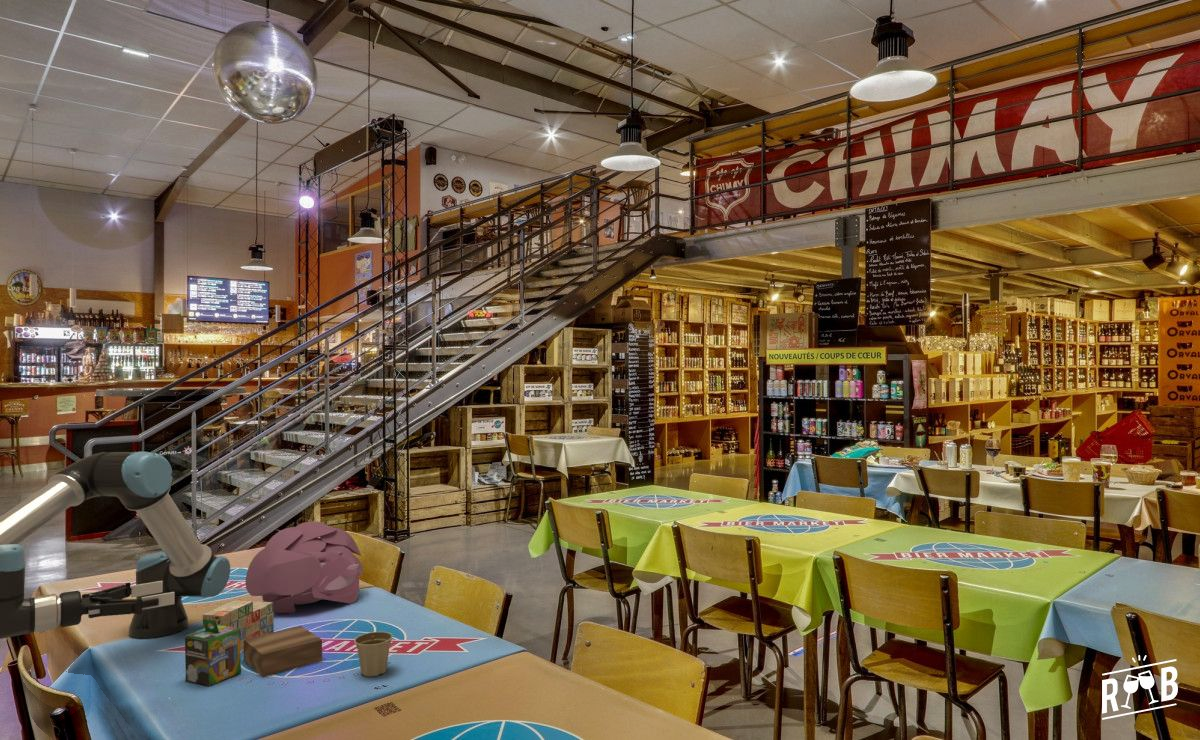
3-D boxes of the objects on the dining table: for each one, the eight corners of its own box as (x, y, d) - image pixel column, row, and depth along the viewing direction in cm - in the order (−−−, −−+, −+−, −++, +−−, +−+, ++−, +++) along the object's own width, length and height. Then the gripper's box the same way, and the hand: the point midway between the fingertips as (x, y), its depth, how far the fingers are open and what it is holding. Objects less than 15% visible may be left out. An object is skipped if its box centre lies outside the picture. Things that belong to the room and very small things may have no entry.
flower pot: (357, 682, 174) (357, 647, 174) (351, 669, 183) (351, 635, 183) (396, 675, 179) (396, 640, 179) (388, 662, 187) (388, 629, 187)
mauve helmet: (341, 602, 257) (339, 521, 263) (382, 600, 243) (379, 514, 249) (242, 618, 228) (243, 527, 235) (282, 617, 215) (281, 520, 221)
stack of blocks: (255, 632, 211) (255, 590, 212) (274, 633, 210) (274, 591, 210) (201, 659, 190) (201, 613, 191) (222, 661, 189) (222, 614, 189)
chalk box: (241, 673, 181) (241, 614, 181) (208, 687, 172) (208, 626, 173) (217, 667, 185) (217, 610, 185) (183, 681, 176) (183, 621, 177)
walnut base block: (243, 662, 189) (243, 639, 189) (300, 647, 199) (300, 625, 200) (262, 678, 178) (262, 654, 178) (322, 662, 188) (322, 639, 189)
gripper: (53, 614, 167) (157, 596, 182) (64, 642, 149) (179, 619, 163) (53, 582, 168) (157, 567, 182) (64, 606, 149) (179, 586, 163)
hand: (168, 591), depth 172 cm, fingers open, 13 cm apart
